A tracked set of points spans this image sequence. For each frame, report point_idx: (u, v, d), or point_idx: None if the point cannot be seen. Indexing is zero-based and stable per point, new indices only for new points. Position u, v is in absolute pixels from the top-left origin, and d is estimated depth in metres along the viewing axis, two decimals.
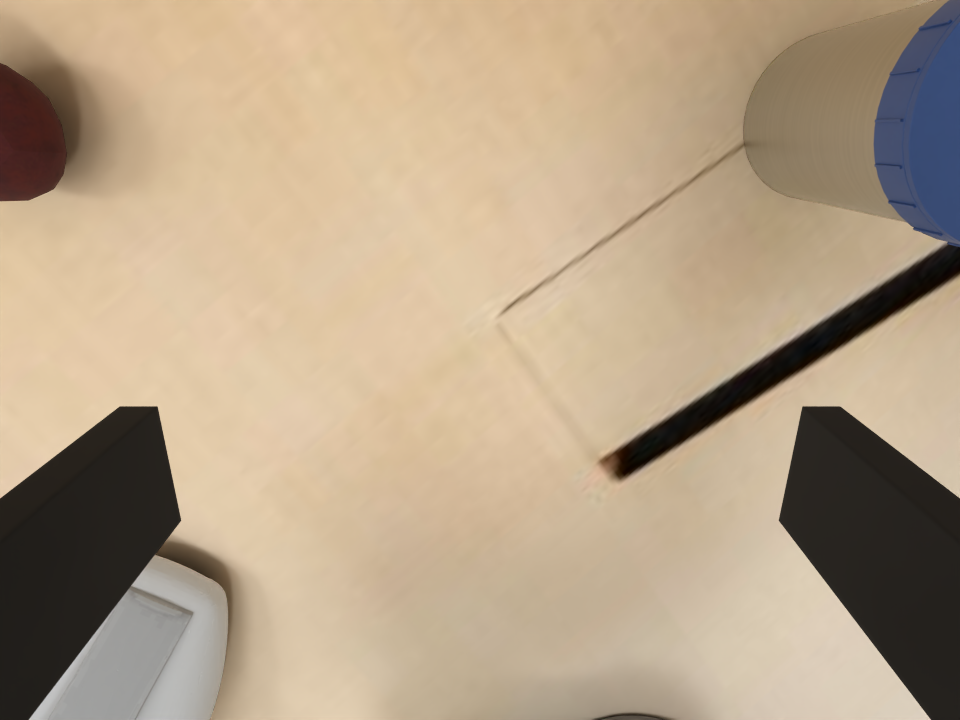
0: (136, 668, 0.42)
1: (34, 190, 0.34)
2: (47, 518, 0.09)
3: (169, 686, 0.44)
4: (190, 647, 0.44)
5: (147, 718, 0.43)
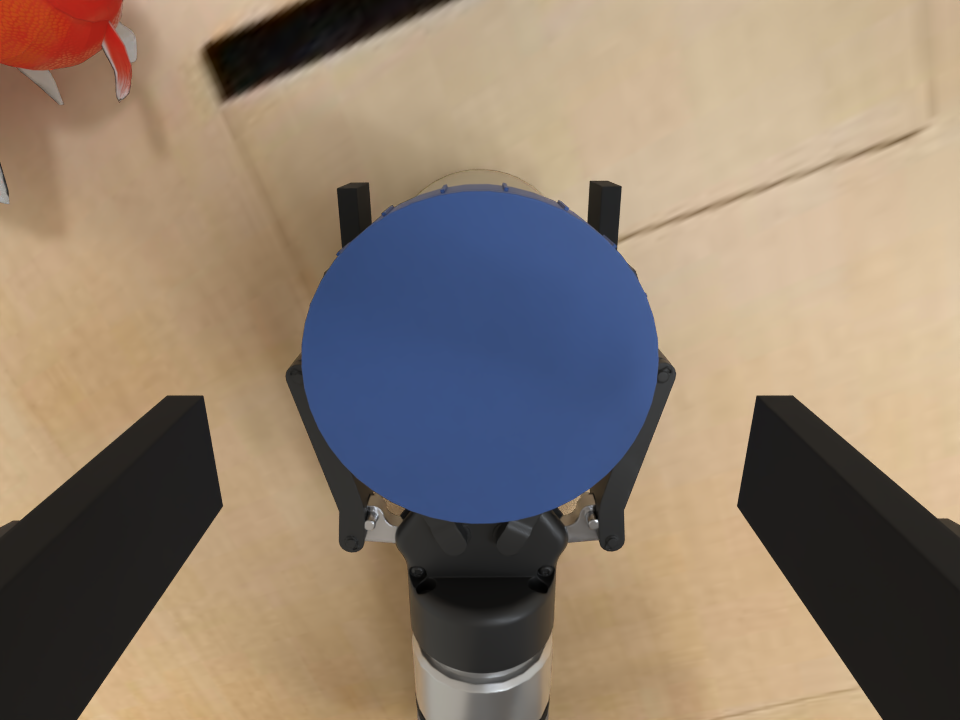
0: None
1: None
2: (113, 498, 0.10)
3: None
4: None
5: None
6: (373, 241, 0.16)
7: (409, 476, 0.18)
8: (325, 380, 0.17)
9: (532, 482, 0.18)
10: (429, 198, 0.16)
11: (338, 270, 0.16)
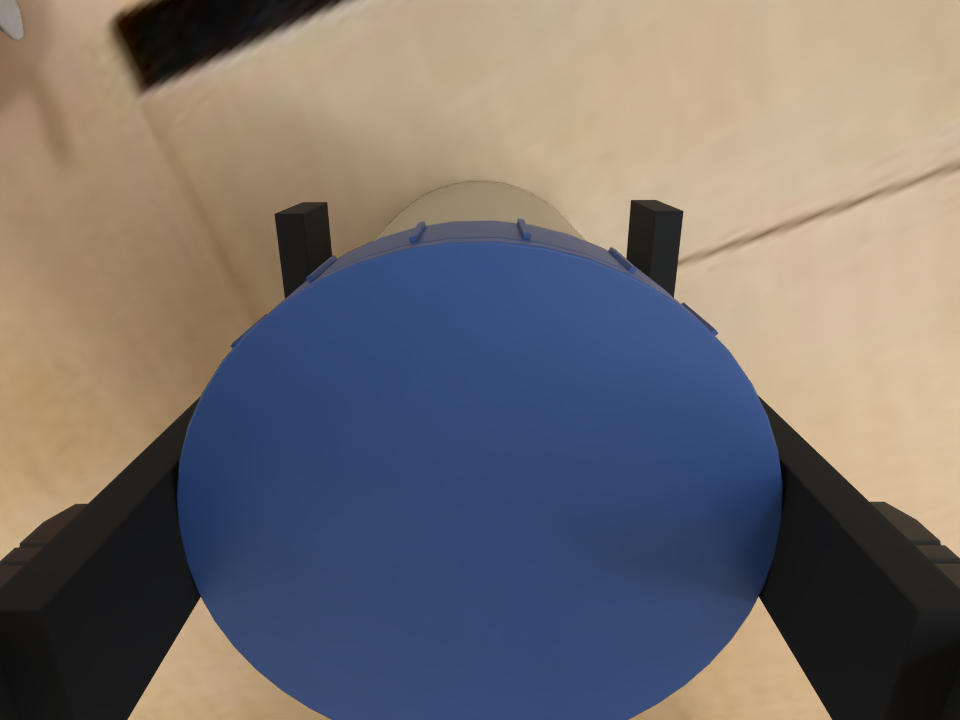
0: None
1: None
2: (173, 482, 0.10)
3: None
4: None
5: None
6: (290, 329, 0.09)
7: (366, 688, 0.11)
8: (220, 550, 0.10)
9: (563, 697, 0.12)
10: (388, 255, 0.09)
11: (230, 378, 0.09)
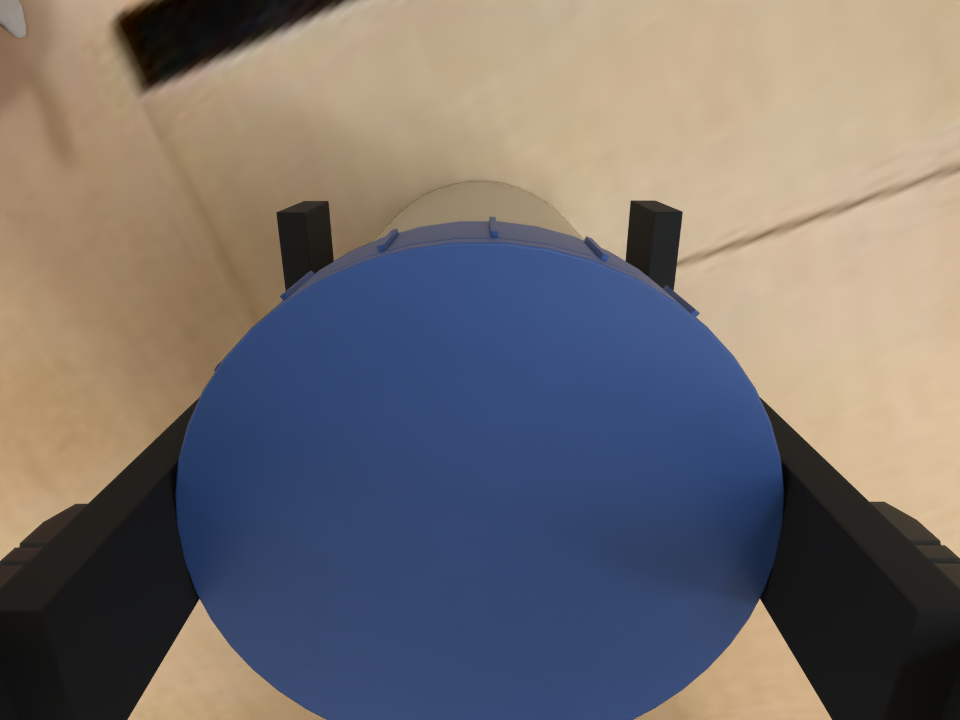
0: None
1: None
2: (173, 482, 0.10)
3: None
4: None
5: None
6: None
7: (712, 555, 0.10)
8: (600, 708, 0.12)
9: (635, 372, 0.09)
10: (287, 696, 0.11)
11: None
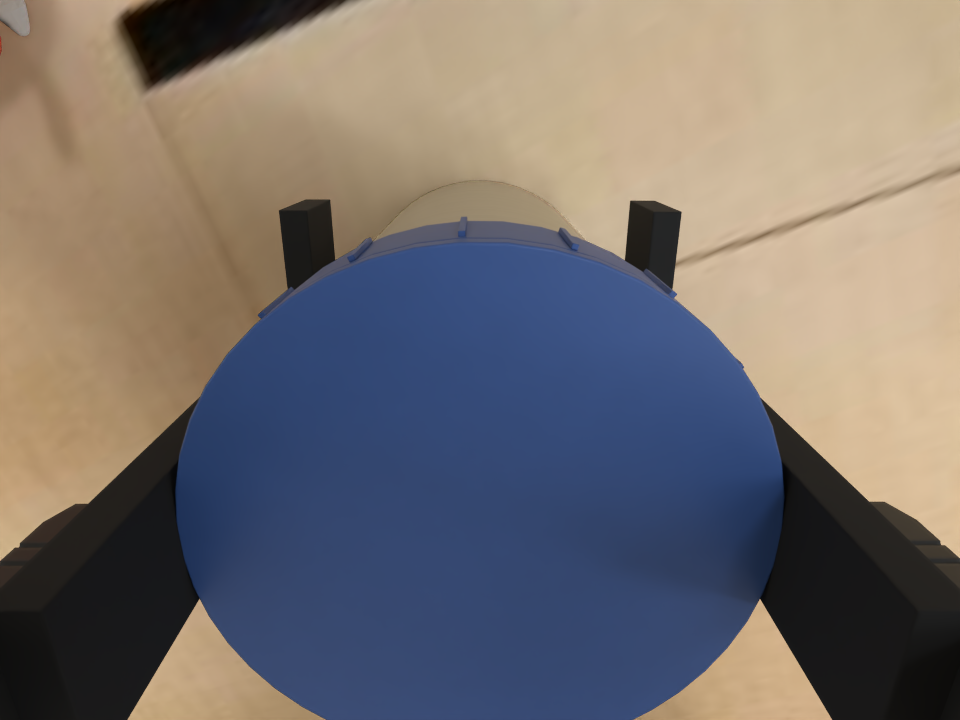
0: None
1: None
2: (172, 482, 0.10)
3: None
4: None
5: None
6: (761, 524, 0.10)
7: (364, 342, 0.09)
8: (629, 326, 0.09)
9: (246, 518, 0.10)
10: None
11: (766, 460, 0.10)
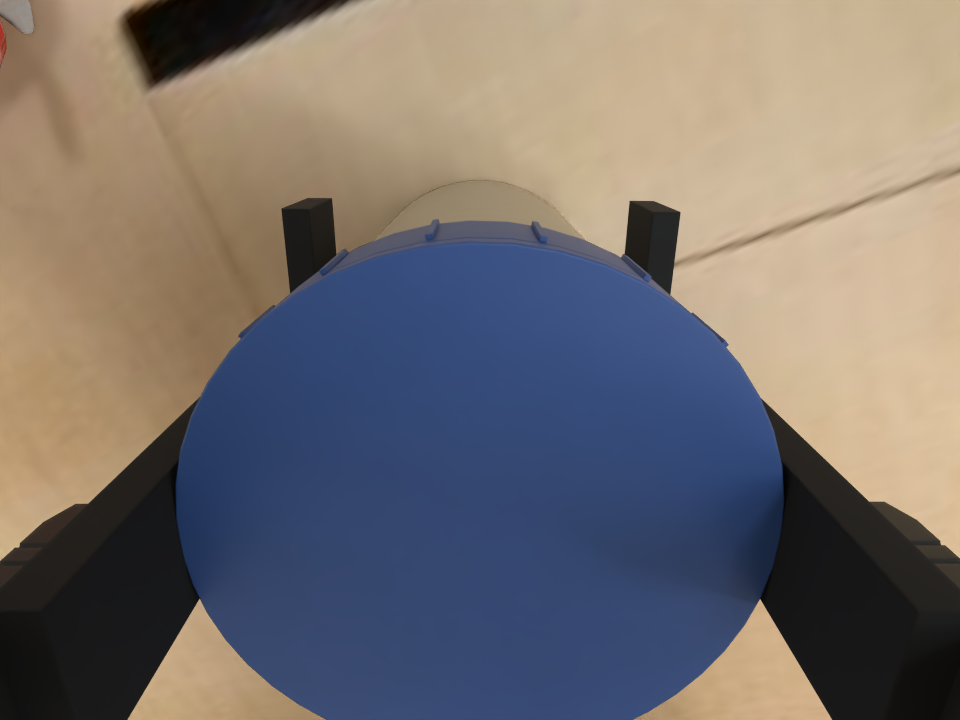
0: None
1: None
2: (172, 482, 0.10)
3: None
4: None
5: None
6: (300, 321, 0.09)
7: (357, 686, 0.11)
8: (217, 542, 0.10)
9: (555, 702, 0.11)
10: (404, 251, 0.08)
11: (237, 368, 0.09)
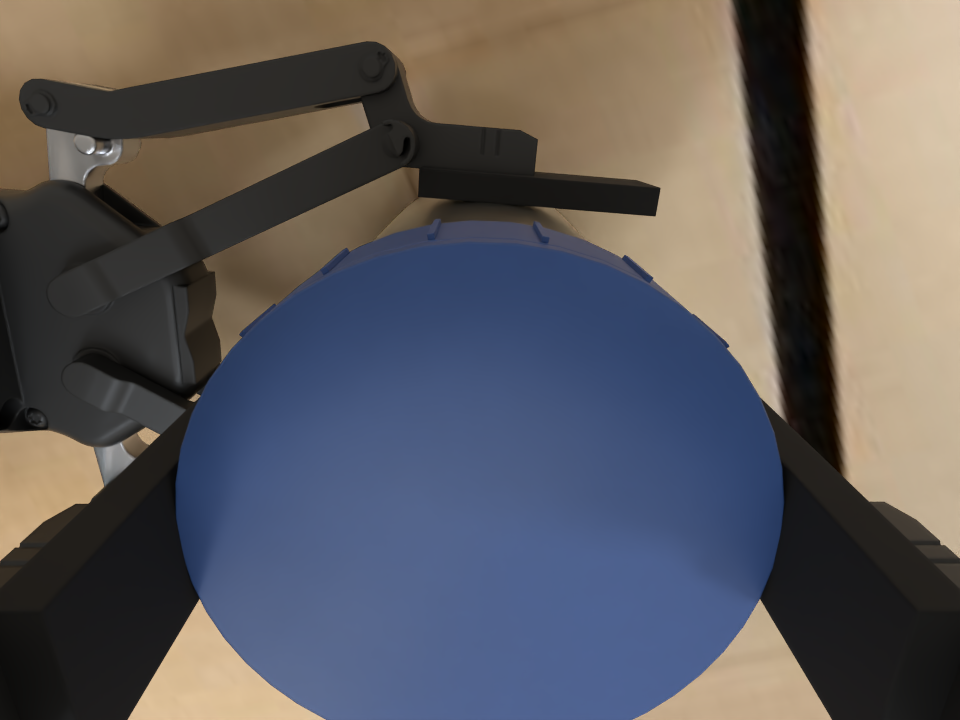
0: None
1: None
2: (173, 482, 0.10)
3: None
4: None
5: None
6: (302, 320, 0.09)
7: (355, 685, 0.11)
8: (216, 540, 0.10)
9: (553, 702, 0.12)
10: (406, 251, 0.08)
11: (238, 366, 0.09)
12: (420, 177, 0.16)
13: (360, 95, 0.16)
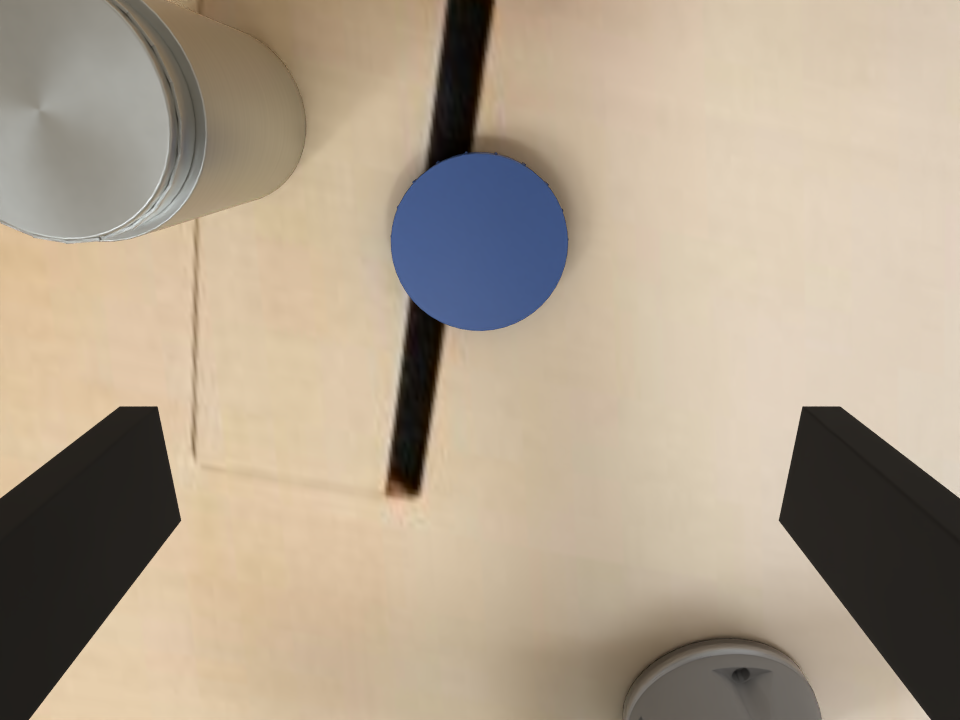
0: None
1: None
2: (47, 518, 0.09)
3: None
4: None
5: None
6: (431, 175, 0.33)
7: (440, 301, 0.36)
8: (402, 246, 0.35)
9: (503, 307, 0.36)
10: (459, 156, 0.33)
11: (413, 189, 0.34)
12: None
13: None
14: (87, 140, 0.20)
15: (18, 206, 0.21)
